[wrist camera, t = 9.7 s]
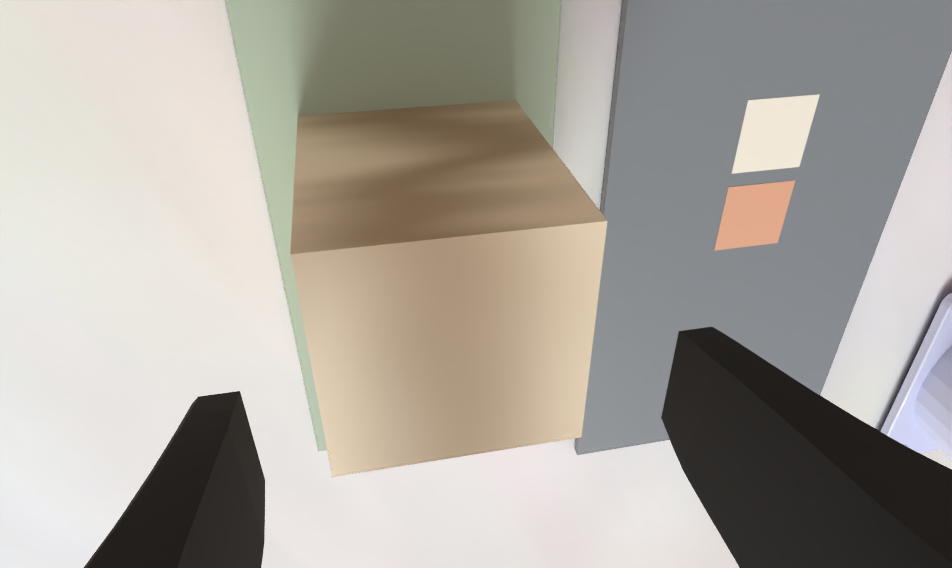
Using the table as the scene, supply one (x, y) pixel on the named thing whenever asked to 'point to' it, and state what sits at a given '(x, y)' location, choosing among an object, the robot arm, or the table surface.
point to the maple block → (442, 282)
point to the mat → (379, 81)
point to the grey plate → (748, 183)
